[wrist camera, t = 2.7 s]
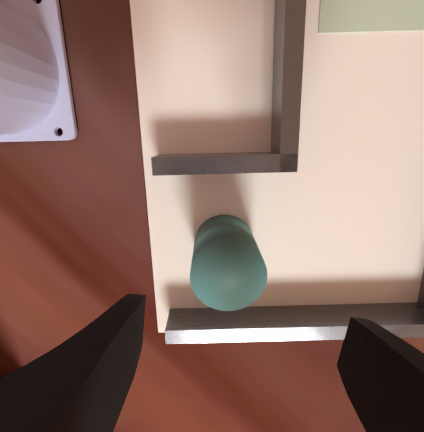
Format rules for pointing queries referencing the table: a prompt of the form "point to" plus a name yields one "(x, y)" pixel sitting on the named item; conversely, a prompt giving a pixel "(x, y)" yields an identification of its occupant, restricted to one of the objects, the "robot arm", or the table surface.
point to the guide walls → (271, 163)
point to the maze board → (307, 153)
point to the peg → (227, 264)
